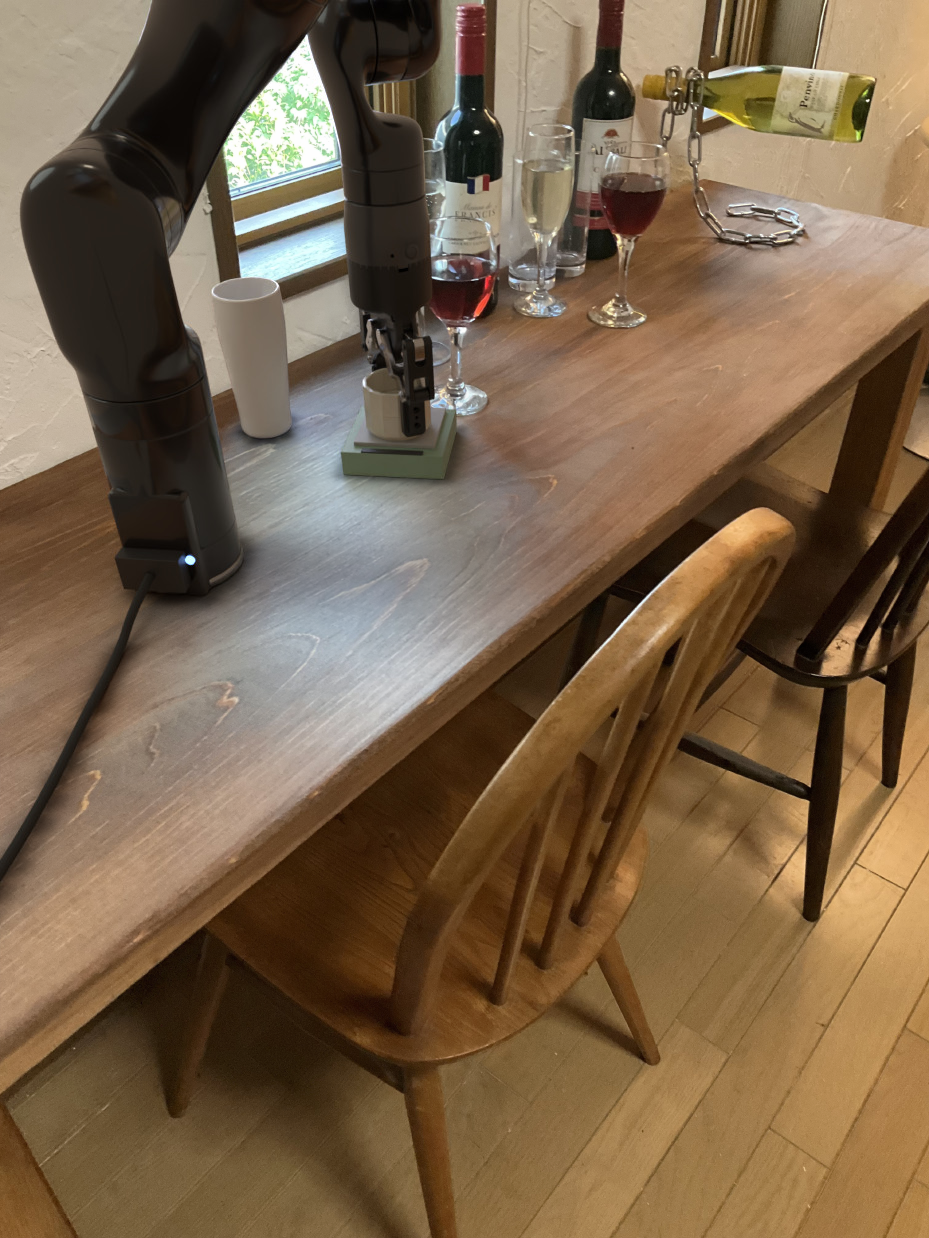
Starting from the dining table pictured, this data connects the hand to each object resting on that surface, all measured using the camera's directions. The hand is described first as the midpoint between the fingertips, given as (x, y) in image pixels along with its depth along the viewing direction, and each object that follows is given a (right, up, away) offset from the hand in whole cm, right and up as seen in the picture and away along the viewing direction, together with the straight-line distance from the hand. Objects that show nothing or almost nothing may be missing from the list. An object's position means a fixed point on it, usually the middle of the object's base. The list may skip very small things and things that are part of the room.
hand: (399, 416), depth 95 cm
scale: (0, -3, +2) cm, 4 cm away
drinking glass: (-15, 0, +7) cm, 16 cm away
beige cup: (0, -1, 0) cm, 1 cm away
